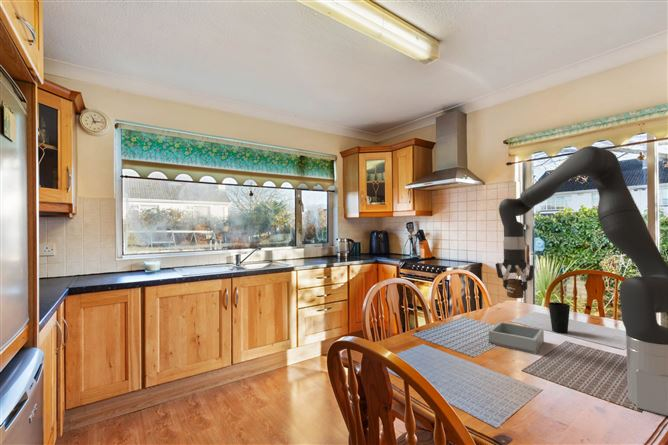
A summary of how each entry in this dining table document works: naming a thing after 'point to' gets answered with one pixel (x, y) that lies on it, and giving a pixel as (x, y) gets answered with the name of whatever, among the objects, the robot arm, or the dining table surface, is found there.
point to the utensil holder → (515, 287)
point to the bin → (517, 337)
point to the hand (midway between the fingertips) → (515, 289)
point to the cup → (559, 317)
